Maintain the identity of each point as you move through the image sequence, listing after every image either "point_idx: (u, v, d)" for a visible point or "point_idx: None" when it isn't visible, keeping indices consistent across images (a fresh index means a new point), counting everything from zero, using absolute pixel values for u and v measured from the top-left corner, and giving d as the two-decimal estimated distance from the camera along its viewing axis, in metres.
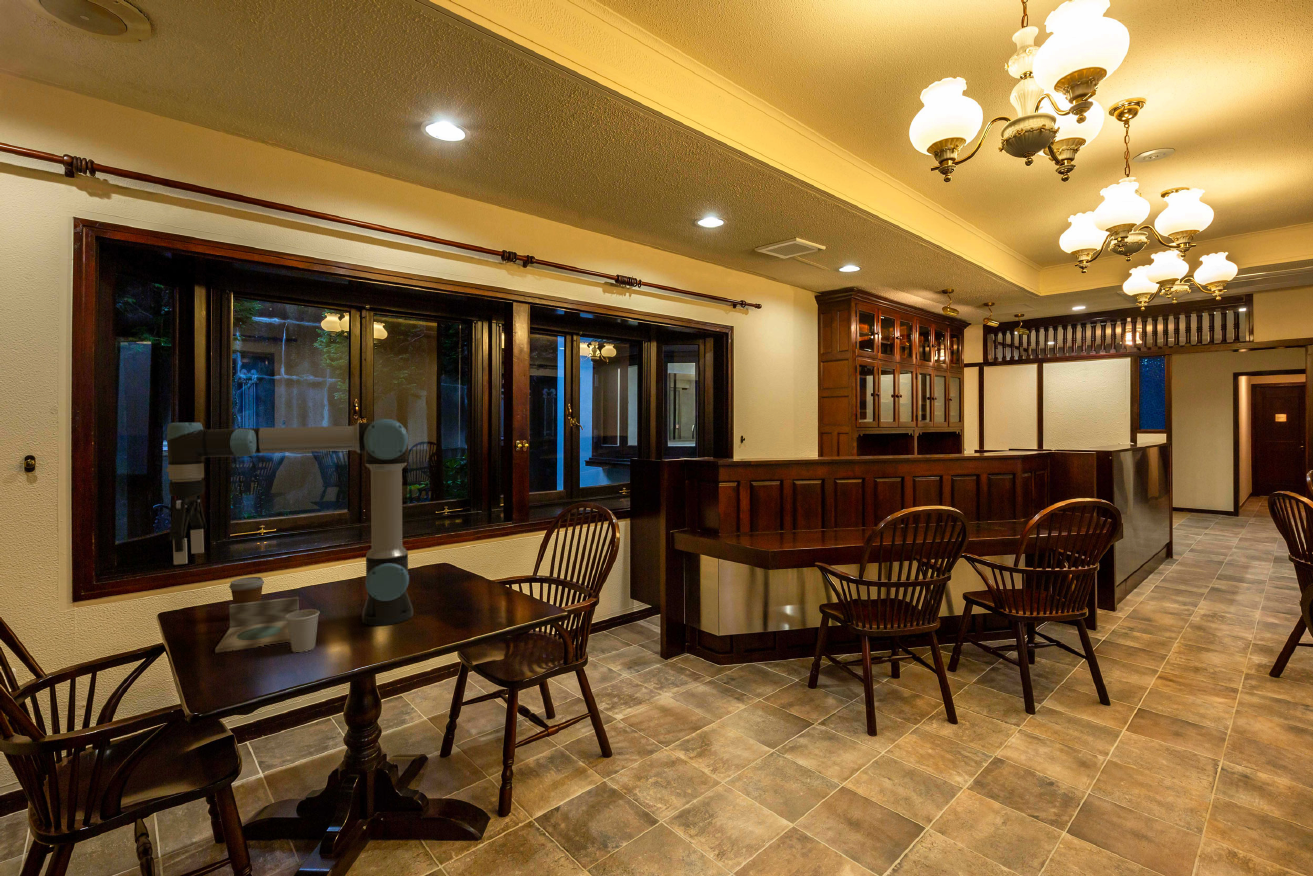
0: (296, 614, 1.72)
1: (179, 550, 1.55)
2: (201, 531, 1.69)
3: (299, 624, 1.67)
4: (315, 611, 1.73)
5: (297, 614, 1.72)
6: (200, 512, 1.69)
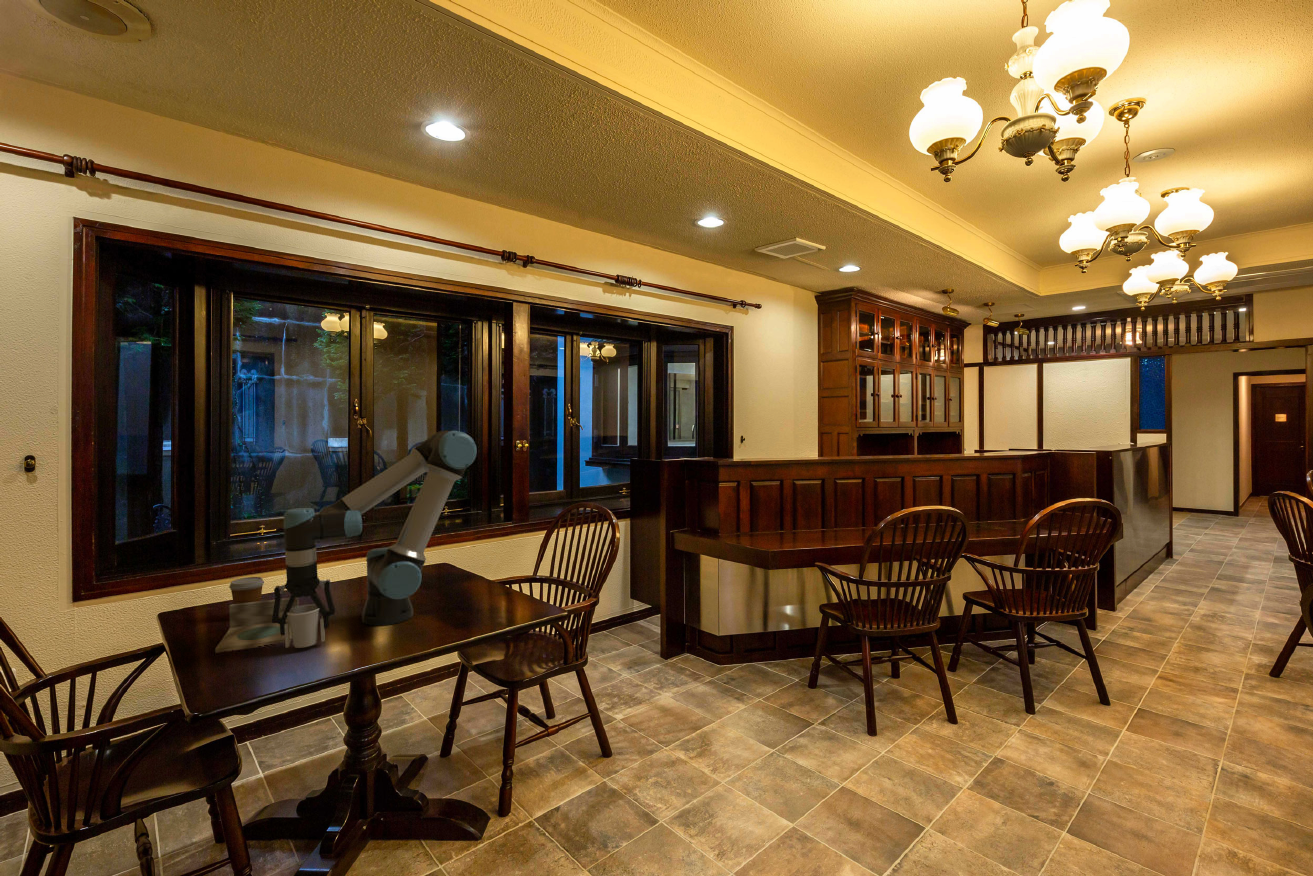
0: (297, 609, 1.72)
1: (280, 633, 1.68)
2: None
3: (300, 619, 1.67)
4: (316, 606, 1.73)
5: (298, 609, 1.72)
6: (326, 599, 1.72)
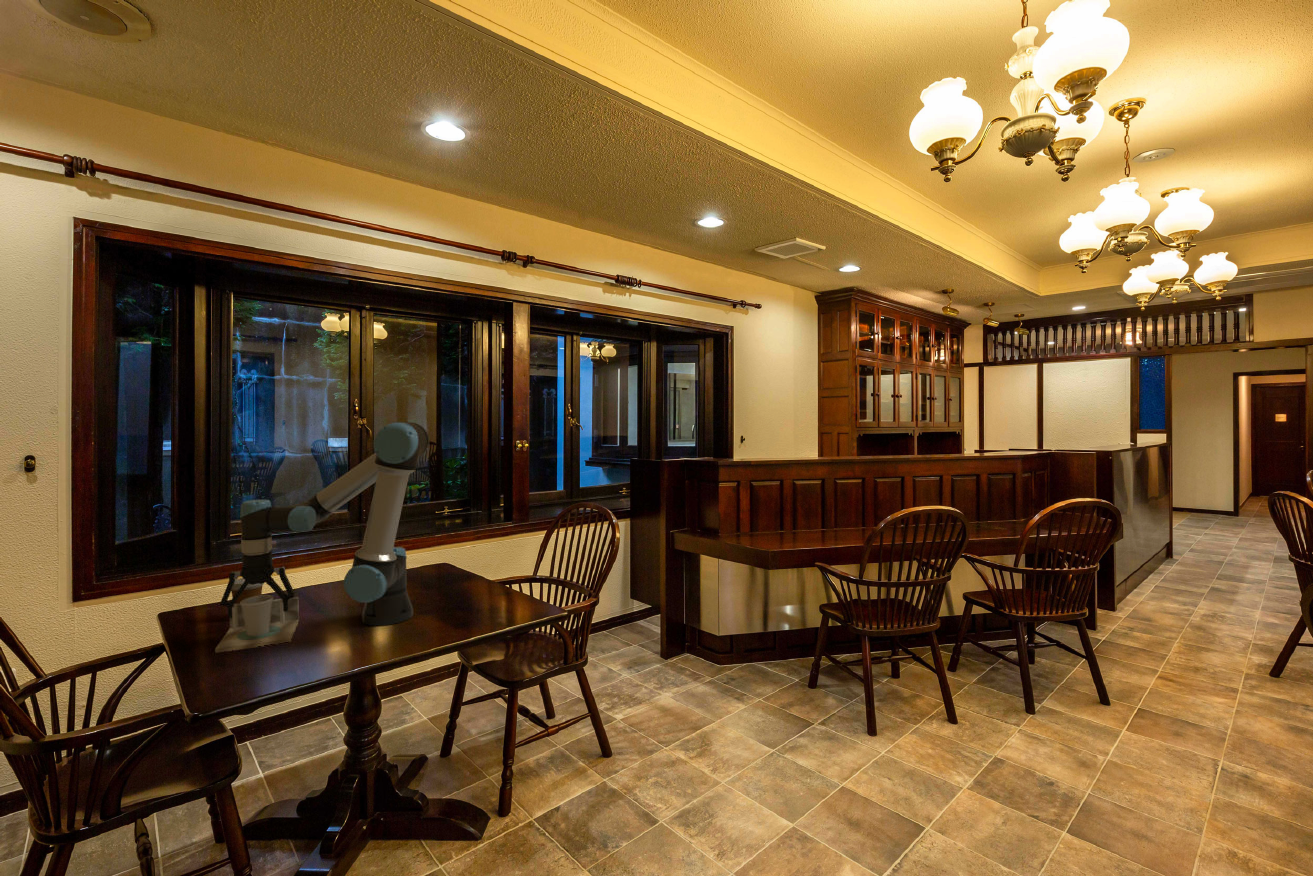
0: (251, 600, 1.81)
1: (228, 616, 1.76)
2: (280, 603, 1.81)
3: (252, 609, 1.75)
4: (269, 597, 1.82)
5: (252, 600, 1.81)
6: None
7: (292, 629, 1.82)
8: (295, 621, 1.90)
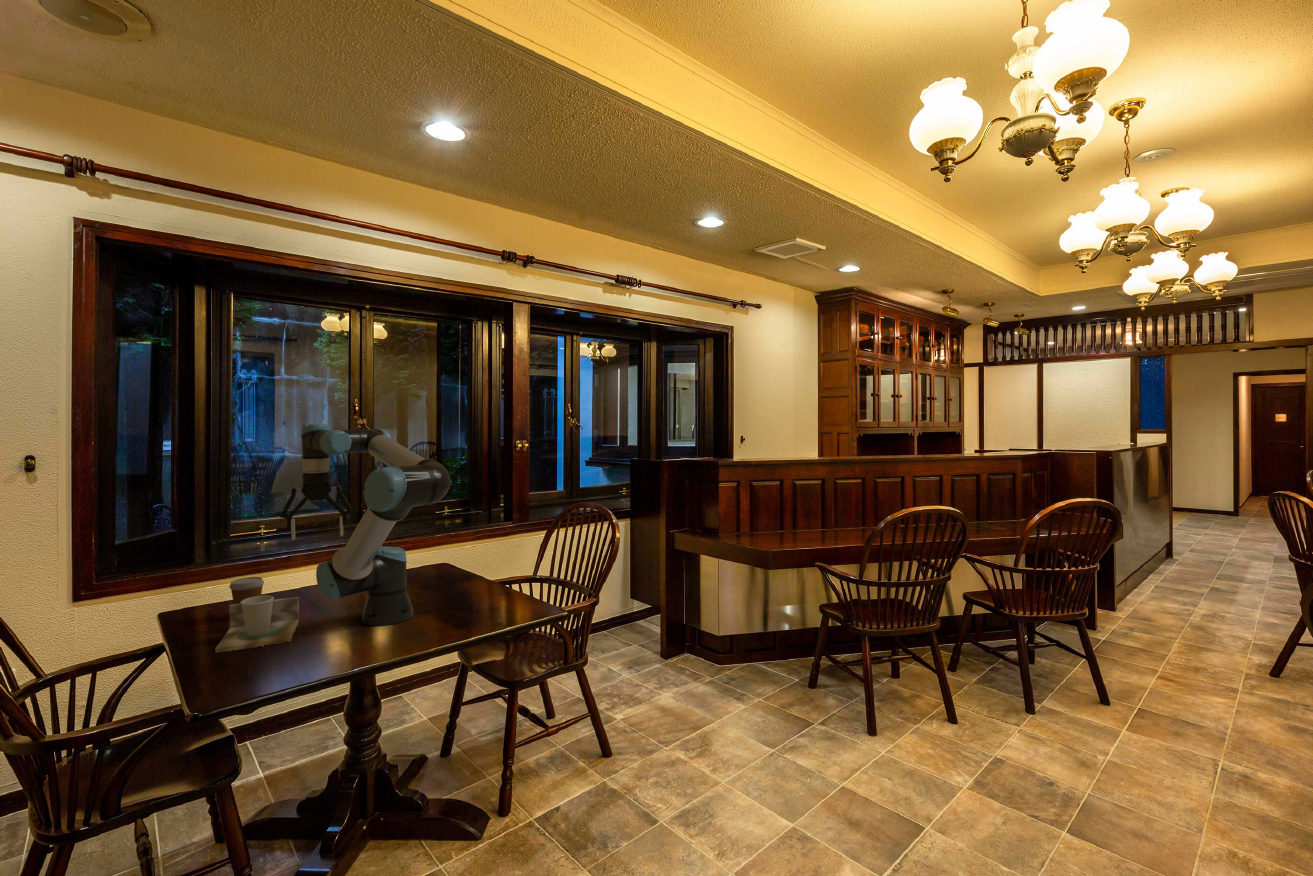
0: (252, 600, 1.81)
1: None
2: None
3: (253, 609, 1.75)
4: (270, 597, 1.82)
5: (253, 600, 1.81)
6: None
7: (292, 629, 1.82)
8: (295, 621, 1.90)
